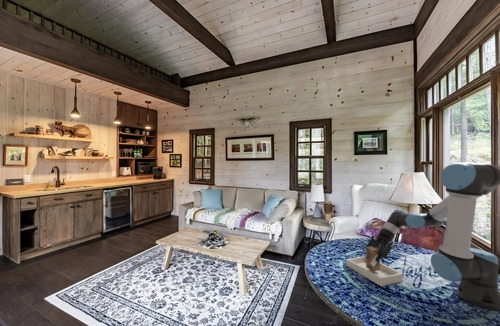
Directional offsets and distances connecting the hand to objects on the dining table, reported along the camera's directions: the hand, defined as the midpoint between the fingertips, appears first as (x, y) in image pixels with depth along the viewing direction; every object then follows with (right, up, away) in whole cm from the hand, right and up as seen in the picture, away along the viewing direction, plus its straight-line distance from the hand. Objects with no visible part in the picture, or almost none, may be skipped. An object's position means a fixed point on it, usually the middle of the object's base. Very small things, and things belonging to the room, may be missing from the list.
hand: (367, 263), depth 123 cm
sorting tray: (+4, -6, +1) cm, 7 cm away
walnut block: (+4, -4, +1) cm, 5 cm away
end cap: (+19, -7, +24) cm, 32 cm away
